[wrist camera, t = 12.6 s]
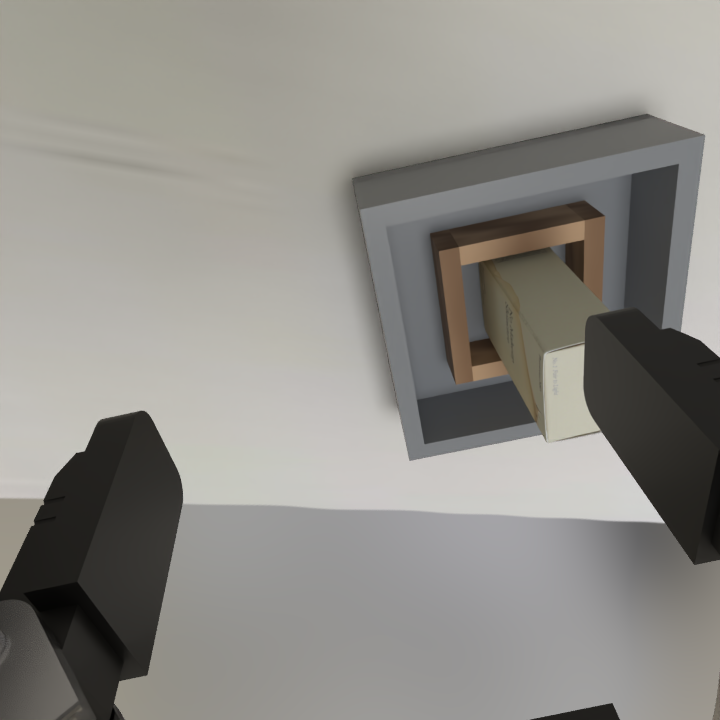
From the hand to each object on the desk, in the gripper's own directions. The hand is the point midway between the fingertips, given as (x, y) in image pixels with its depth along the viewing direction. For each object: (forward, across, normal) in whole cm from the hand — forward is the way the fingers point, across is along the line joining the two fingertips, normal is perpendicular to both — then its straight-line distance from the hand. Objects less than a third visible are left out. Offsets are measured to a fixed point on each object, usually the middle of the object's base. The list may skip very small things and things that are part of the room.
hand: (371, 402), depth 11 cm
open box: (+27, -10, +13) cm, 31 cm away
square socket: (+27, -10, +13) cm, 31 cm away
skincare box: (+26, -10, +13) cm, 31 cm away
